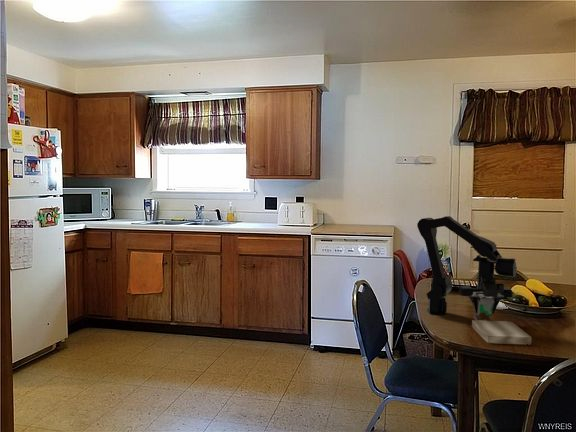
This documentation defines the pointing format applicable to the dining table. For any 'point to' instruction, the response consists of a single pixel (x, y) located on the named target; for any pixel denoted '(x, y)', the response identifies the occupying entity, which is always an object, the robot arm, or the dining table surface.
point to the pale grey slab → (501, 332)
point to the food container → (483, 307)
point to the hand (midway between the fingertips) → (484, 313)
